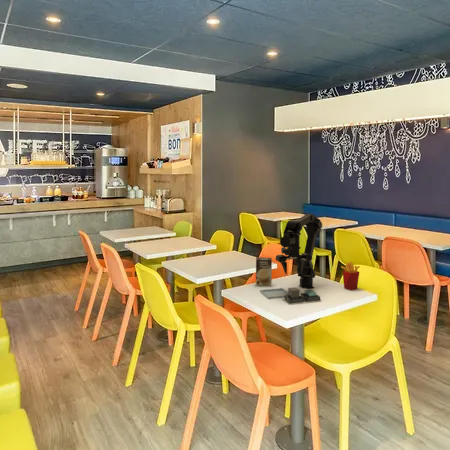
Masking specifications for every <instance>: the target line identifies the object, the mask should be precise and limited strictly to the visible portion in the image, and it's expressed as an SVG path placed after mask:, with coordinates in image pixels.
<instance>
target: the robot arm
mask: <svg viewBox="0 0 450 450" xmlns="http://www.w3.org/2000/svg"><path fill="white" fill-rule="evenodd" d="M304 226H305V227H306V232H307V238H306V242H305V247H304V252H302V253H301V254H300V250H301V246H300V242H301V241H300V236H301V235H302V234H301V231H302V230H303V227H304ZM322 228H323V223H322V221H321V219H320V218H318V217H317V216H315V215H314V213H306V214H304V215H302V216H301V217H299V218H297V219H291V220H288V221H287V222H286V224H285V227H284V231H283V236H282V237H281V238H280V240H279V244H280V246H281V248H280V250H281V254H276V256H275V261H277V262H278V263H280V264H281V267H282V269H283V271H284V274H285V275H287V274H288V262H287V260H288V261H289V260H299V261H298V264H297V267H296V272H297V276H298V277H300V278H299V285H298V286H299V287H300V288H302V289H305V290H310V289H314V288H315V287H314V279H315V278H316V271H315V270H314V264H313V261H312V260H313V255H314V250H315V245H316V241H317V236H318V235H320V233H321V231H322Z"/></svg>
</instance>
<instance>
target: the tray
mask: <svg viewBox="0 0 450 450" xmlns="http://www.w3.org/2000/svg"><path fill="white" fill-rule="evenodd" d="M259 292H260V293H261V295H263V297H265V298H266V299H267V300H272V299H284V295H288V291H287V290H286V289H285V288H283V287H279V288H270V289H267V288H266V289H260V290H259Z"/></svg>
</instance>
